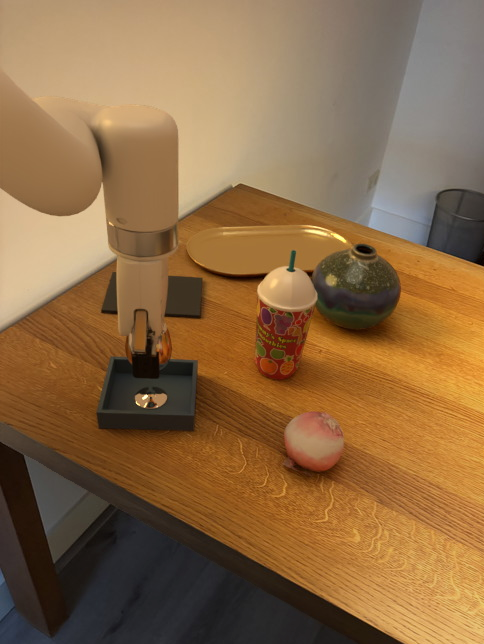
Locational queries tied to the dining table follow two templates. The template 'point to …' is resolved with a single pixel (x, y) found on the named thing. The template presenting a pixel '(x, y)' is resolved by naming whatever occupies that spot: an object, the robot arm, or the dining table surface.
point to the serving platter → (262, 248)
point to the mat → (179, 296)
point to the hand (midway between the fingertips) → (149, 359)
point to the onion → (313, 442)
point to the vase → (356, 288)
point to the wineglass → (155, 395)
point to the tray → (122, 386)
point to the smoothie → (283, 319)
